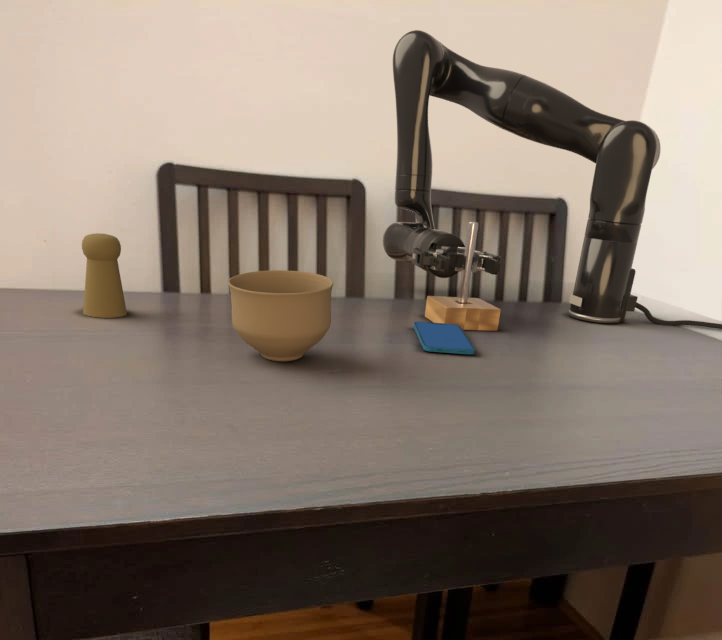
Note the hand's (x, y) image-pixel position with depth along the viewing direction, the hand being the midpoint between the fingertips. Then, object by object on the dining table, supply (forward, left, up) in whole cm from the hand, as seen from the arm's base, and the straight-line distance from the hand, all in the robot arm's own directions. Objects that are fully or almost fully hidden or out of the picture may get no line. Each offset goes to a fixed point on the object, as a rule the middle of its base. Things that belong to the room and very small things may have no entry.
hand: (472, 266), depth 116 cm
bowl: (+34, +22, -10) cm, 42 cm away
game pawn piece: (+56, 0, -10) cm, 57 cm away
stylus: (0, -2, -9) cm, 10 cm away
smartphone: (+8, +12, -10) cm, 17 cm away
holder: (0, -2, -9) cm, 10 cm away
